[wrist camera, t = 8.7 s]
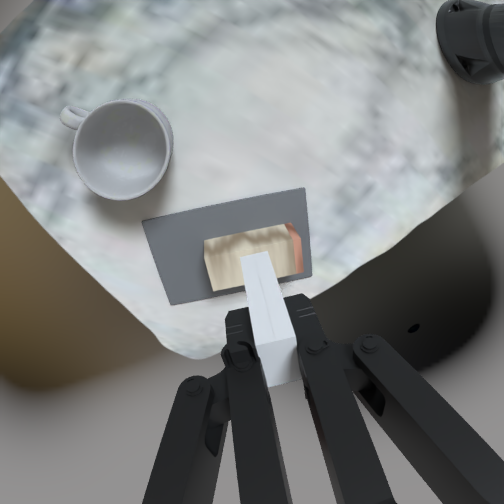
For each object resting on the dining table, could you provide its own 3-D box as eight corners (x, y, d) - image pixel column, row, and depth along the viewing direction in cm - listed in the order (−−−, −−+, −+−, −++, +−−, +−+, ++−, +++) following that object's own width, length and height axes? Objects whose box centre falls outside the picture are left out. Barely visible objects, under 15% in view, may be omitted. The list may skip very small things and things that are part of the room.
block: (204, 240, 42) (290, 222, 43) (212, 271, 45) (294, 254, 45) (204, 258, 38) (300, 238, 39) (213, 291, 41) (303, 272, 41)
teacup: (195, 138, 36) (192, 149, 29) (136, 198, 39) (122, 222, 32) (118, 65, 30) (97, 59, 23) (63, 130, 33) (34, 140, 26)
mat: (304, 187, 41) (305, 188, 41) (311, 274, 48) (312, 276, 48) (142, 221, 40) (141, 222, 40) (171, 303, 47) (170, 305, 47)
